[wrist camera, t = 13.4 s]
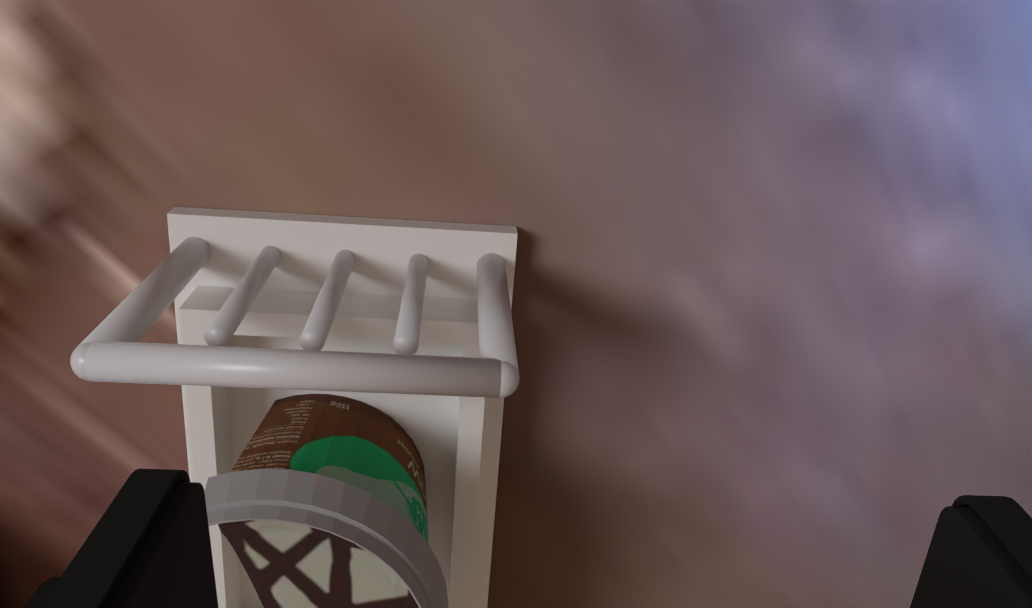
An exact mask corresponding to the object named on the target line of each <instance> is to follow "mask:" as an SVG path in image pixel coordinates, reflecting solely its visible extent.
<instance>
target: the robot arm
mask: <svg viewBox="0 0 1032 608" xmlns="http://www.w3.org/2000/svg"><path fill="white" fill-rule="evenodd" d="M24 608H218V599H217V591H216V583H215V575H214V567H213V558H212V550H211V542H210V534H209V525H208V517H207V509H206V501H205V493H204V488H203V486H202V484H201V483H198V482H190V478H189V476H188V474H187V472H186V471H184V470H164V469H137V470H135V471H134V472H133V473H132V474H131V475H130V477H129V478H128V479H127V481H126V482H125V484H124V485H123V487H122V488H121V490H120V491H119V493H118V494H117V496H116V497H115V499H114V500H113V501H112V503H111V504H110V506H109V507H108V509H107V510H106V512H105V513H104V515H103V516H102V518H101V519H100V521H99V522H98V524H97V525H96V526H95V528H94V529H93V531H92V532H91V534H90V535H89V537H88V538H87V540H86V541H85V543H84V544H83V546H82V547H81V549H80V550H79V551H78V553H77V554H76V556H75V557H74V559H73V560H72V562H71V563H70V565H69V566H68V568H67V569H66V571H65V572H64V574H63V575H62V576H61V577H52V578H51V579H49V580H47V581H45V582H44V583H43V584H42V585H41V586H40V587H39V588H38V589H37V591H36V592H35V593H34V594H33V596H32V597H31V599H30V600H29V601H28V603H27V604H26V606H25V607H24ZM910 608H1032V518H1031V517H1030V516H1029V515H1028V514H1027V513H1026V512H1025V511H1024V509H1023V508H1022V507H1021V506H1020V505H1019V504H1018V503H1017V502H1016V501H1014V500H1013V499H1012V498H1009V497H1005V496H973V495H964V496H960V497H958V498H957V499H956V500H955V501H954V503H953V505H952V506H948V507H945V508H944V509H943V510H942V511H941V514H940V516H939V519H938V522H937V525H936V528H935V531H934V534H933V537H932V541H931V544H930V547H929V550H928V553H927V556H926V559H925V562H924V566H923V569H922V572H921V575H920V578H919V581H918V584H917V587H916V591H915V594H914V597H913V600H912V603H911V606H910Z"/></svg>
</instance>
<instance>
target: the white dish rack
mask: <svg viewBox="0 0 1032 608" xmlns="http://www.w3.org/2000/svg"><path fill="white" fill-rule="evenodd" d="M167 219H168V231H169V243H170V255H169V256H168V257H167V258H166V259H165V260H164V261H163V262H162V263H161V264H160V265H159V266H158V267H157V268H156V269H155V270H154V271H153V272H152V273H151V274H150V275H149V276H148V277H147V278H146V279H145V280H144V281H143V282H142V283H141V284H140V285H139V286H138V287H137V288H136V289H135V290H134V291H133V292H132V293H131V294H130V295H129V296H128V297H127V298H126V299H125V300H124V301H123V302H122V303H121V304H119V305H118V306H117V307H116V308H115V309H114V310H113V311H112V312H111V313H110V314H109V315H108V316H107V317H106V318H105V319H104V320H103V321H102V322H101V323H100V324H99V325H98V326H97V327H96V328H95V329H94V330H93V331H92V332H91V333H90V334H89V335H88V336H87V337H86V338H85V339H84V340H83V341H82V342H81V343H80V344H79V345H78V346H77V347H76V349H75V350H74V351H73V353H72V355H71V359H70V363H71V368H72V370H73V371H74V373H75V374H76V375H77V376H78V377H80V378H81V379H84V380H86V381H98V382H122V383H147V384H171V385H182V396H183V407H184V419H185V431H186V443H187V455H188V466H189V478H190V482H198V483H201V484H202V486H203V488H204V491H205V488H206V484H207V480H208V477H212V476H217V475H221V474H225V473H229V472H230V471H231V469H232V468H233V466H234V465H235V463H236V461H237V460H238V458H239V457H240V455H241V454H242V452H243V450H244V449H245V447H246V446H247V444H248V443H249V441H250V439H251V438H252V436H253V435H254V433H255V431H256V430H257V428H258V427H259V425H260V424H261V422H262V420H263V419H264V417H265V416H266V414H267V413H268V411H269V409H270V408H271V406H272V405H273V403H274V402H275V400H278V399H282V398H286V397H290V396H293V395H303V394H331V395H338V396H344V397H348V398H352V399H355V400H358V401H361V402H364V403H366V404H368V405H371V406H373V407H375V408H377V409H379V410H380V411H382V412H383V413H385V414H387V415H388V416H390V417H391V418H392V419H393V420H395V421H396V422H397V423H398V424H399V425H400V426H401V427H402V428H403V429H404V430H405V431H406V432H407V434H408V435H409V436H410V437H411V439H412V440H413V442H414V443H415V445H416V447H417V449H418V451H419V452H420V455H421V458H422V461H423V464H424V473H425V484H426V501H427V522H428V542H429V546H430V547H431V549H432V551H433V553H434V554H435V556H436V558H437V560H438V561H439V564H440V567H441V570H442V573H443V575H444V578H445V581H446V588H447V595H448V602H449V603H448V608H487V604H488V592H489V579H490V567H491V555H492V543H493V530H494V518H495V506H496V493H497V481H498V469H499V456H500V444H501V432H502V420H503V407H504V397H507V396H509V395H511V394H512V393H513V392H514V391H515V390H516V389H517V387H518V384H519V370H518V362H517V354H516V346H515V338H514V330H513V322H512V314H511V309H512V297H513V284H514V272H515V260H516V247H517V235H518V233H517V228H516V226H500V225H482V224H465V223H448V222H430V221H413V220H396V219H379V218H361V217H344V216H327V215H309V214H292V213H275V212H257V211H240V210H223V209H205V208H188V207H174V208H173V209H172V210H171V211H170V212H168V213H167ZM173 300H174V302H175V313H176V325H177V337H178V344H163V343H140V342H138V341H139V340H140V339H141V338H142V336H143V335H144V334H145V333H146V332H147V331H148V329H149V328H150V327H151V326H152V325H153V324H154V322H155V321H156V320H157V319H158V318H159V317H160V315H161V314H162V313H163V312H164V311H165V310H166V308H167V307H168V306H169V305H170V304H171V303H172V301H173ZM209 534H210V542H211V550H212V558H213V567H214V575H215V583H216V591H217V599H218V608H263V605H262V603H261V601H260V599H259V597H258V594H257V592H256V590H255V588H254V586H253V584H252V582H251V580H250V578H249V576H248V574H247V572H246V571H245V569H244V567H243V565H242V563H241V562H240V560H239V558H238V556H237V554H236V553H235V551H234V549H233V547H232V546H231V544H230V543H229V541H228V540H227V538H226V537H225V536H224V535H223V534H222V533H221V531H220V529H219V526H218V524H216V525H212V526H209Z"/></svg>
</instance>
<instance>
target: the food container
mask: <svg viewBox="0 0 1032 608" xmlns="http://www.w3.org/2000/svg"><path fill="white" fill-rule="evenodd" d="M204 493H205V501H206V509H207V517H208V525H209V526H212V525H216V524H218V526H219V529H220V531H221V533H222V534H223V535H224V536H225V537H226V538H227V540H228V541H229V543H230V544H231V546H232V547H233V549H234V551H235V553H236V554H237V556H238V558H239V560H240V562H241V563H242V565H243V567H244V569H245V571H246V572H247V574H248V576H249V578H250V580H251V582H252V584H253V586H254V588H255V590H256V592H257V594H258V597H259V599H260V601H261V603H262V605H263V608H448V603H449V602H448V595H447V588H446V581H445V578H444V575H443V573H442V570H441V567H440V564H439V561H438V560H437V558H436V556H435V554H434V553H433V551H432V549H431V547H430V546H429V542H428V522H427V501H426V484H425V473H424V464H423V461H422V458H421V455H420V452H419V451H418V449H417V447H416V445H415V443H414V442H413V440H412V439H411V437H410V436H409V435H408V434H407V432H406V431H405V430H404V429H403V428H402V427H401V426H400V425H399V424H398V423H397V422H396V421H395V420H393V419H392V418H391V417H390V416H388V415H387V414H385V413H383V412H382V411H380V410H379V409H377V408H375V407H373V406H371V405H368V404H366V403H364V402H361V401H358V400H355V399H352V398H348V397H344V396H338V395H331V394H303V395H293V396H290V397H286V398H282V399H278V400H275V402H274V403H273V405H272V406H271V408H270V409H269V411H268V413H267V414H266V416H265V417H264V419H263V420H262V422H261V424H260V425H259V427H258V428H257V430H256V431H255V433H254V435H253V436H252V438H251V439H250V441H249V443H248V444H247V446H246V447H245V449H244V450H243V452H242V454H241V455H240V457H239V458H238V460H237V461H236V463H235V465H234V466H233V468H232V469H231V471H230V472H229V473H225V474H221V475H217V476H212V477H208V480H207V484H206V488H205V491H204Z"/></svg>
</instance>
